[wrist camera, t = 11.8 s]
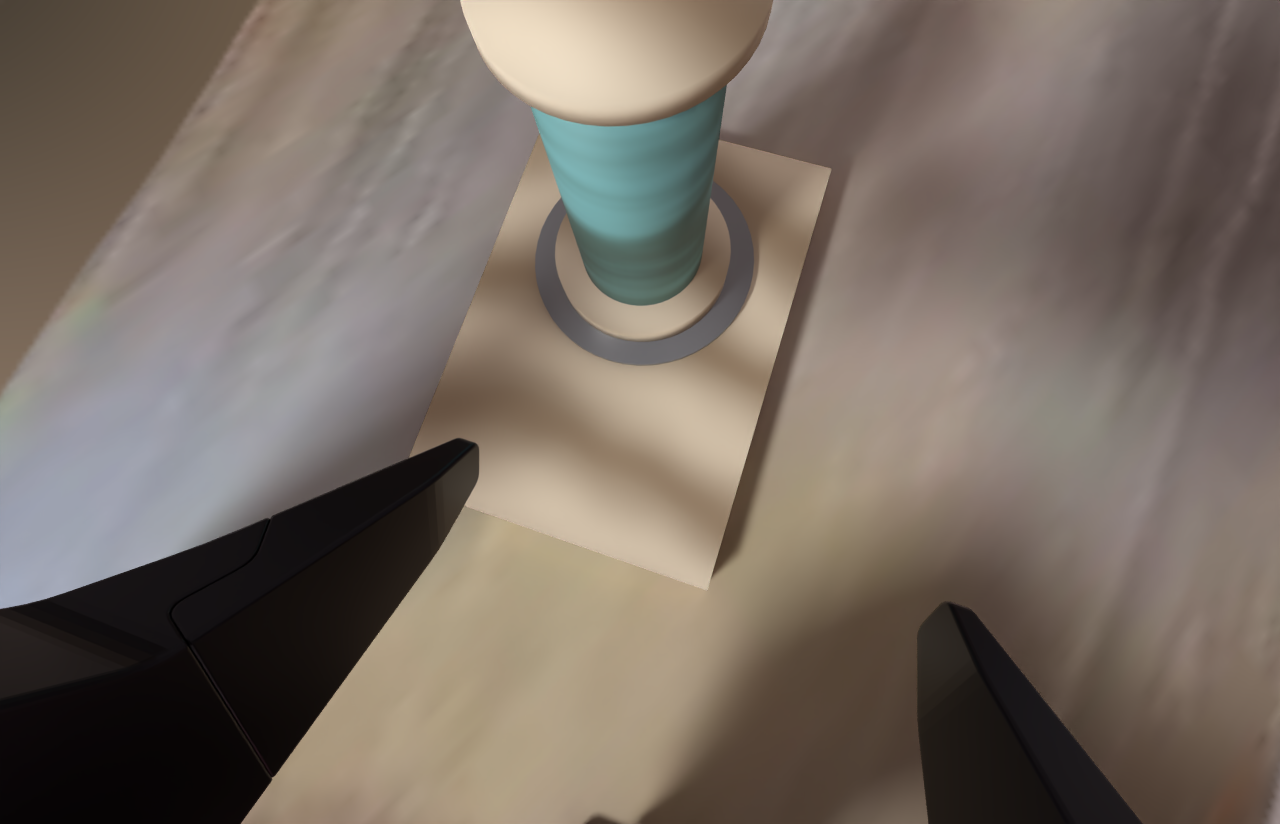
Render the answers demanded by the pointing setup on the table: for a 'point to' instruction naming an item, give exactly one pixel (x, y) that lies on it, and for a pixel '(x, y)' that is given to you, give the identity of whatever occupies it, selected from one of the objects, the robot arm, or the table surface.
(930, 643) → the robot arm
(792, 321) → the table surface
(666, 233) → the bobbin
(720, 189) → the stand board
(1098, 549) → the table surface
